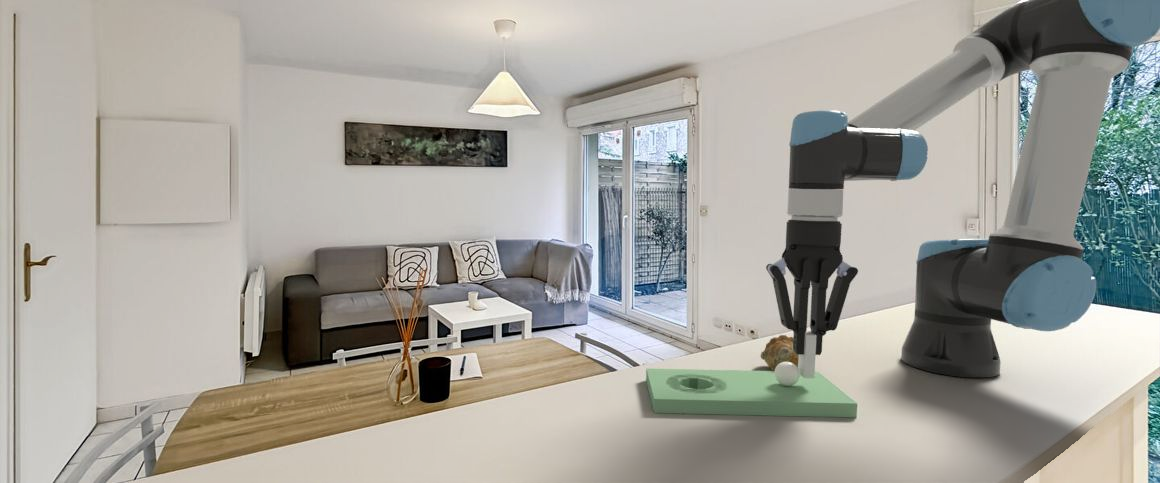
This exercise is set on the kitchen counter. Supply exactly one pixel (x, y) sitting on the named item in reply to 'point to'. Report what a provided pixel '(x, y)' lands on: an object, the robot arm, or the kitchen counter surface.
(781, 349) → the seashell
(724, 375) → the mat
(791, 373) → the ball
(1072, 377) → the kitchen counter surface
